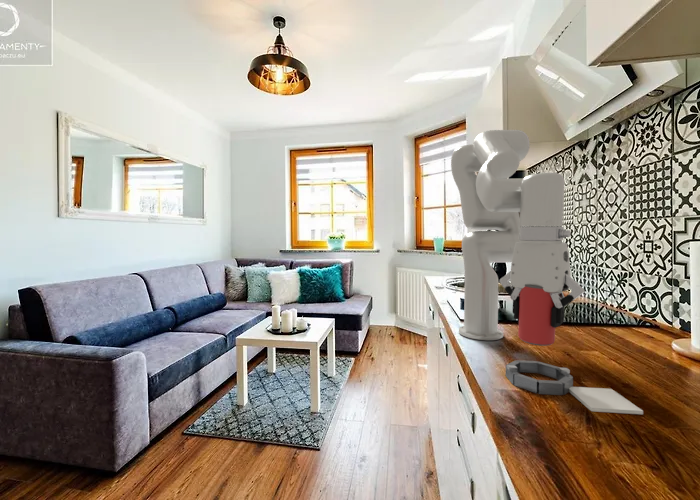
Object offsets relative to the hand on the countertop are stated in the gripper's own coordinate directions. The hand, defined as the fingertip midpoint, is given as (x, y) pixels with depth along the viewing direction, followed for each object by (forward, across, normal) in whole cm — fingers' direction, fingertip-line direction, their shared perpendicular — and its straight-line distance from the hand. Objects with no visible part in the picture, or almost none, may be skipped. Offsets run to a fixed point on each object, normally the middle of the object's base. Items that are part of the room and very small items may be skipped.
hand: (536, 321), depth 67 cm
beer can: (+4, 0, 0) cm, 4 cm away
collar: (+12, -1, +1) cm, 12 cm away
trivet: (+12, -12, 0) cm, 17 cm away
